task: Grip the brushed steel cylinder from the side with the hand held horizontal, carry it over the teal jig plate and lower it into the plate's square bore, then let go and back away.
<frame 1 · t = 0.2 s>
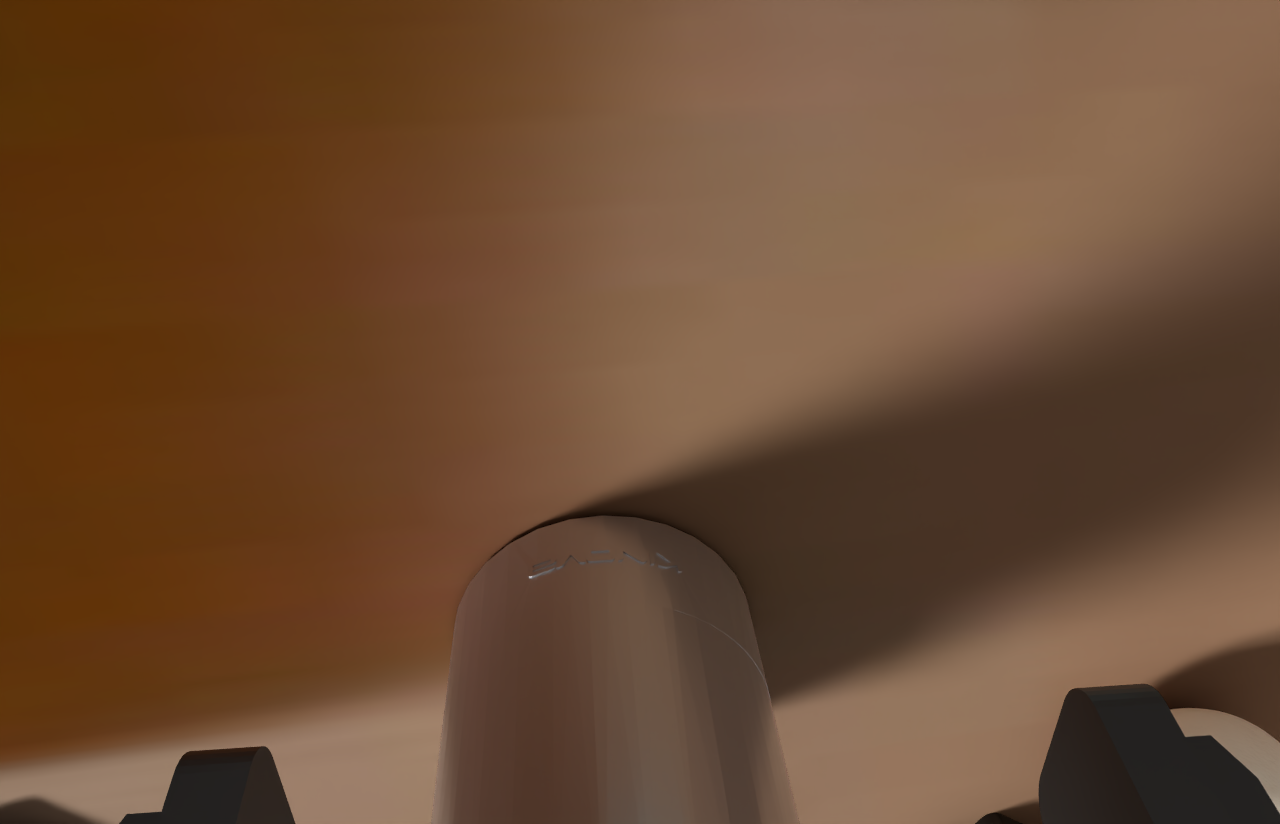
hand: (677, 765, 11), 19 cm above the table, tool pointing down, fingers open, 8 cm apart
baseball: (1143, 736, 39), on the table
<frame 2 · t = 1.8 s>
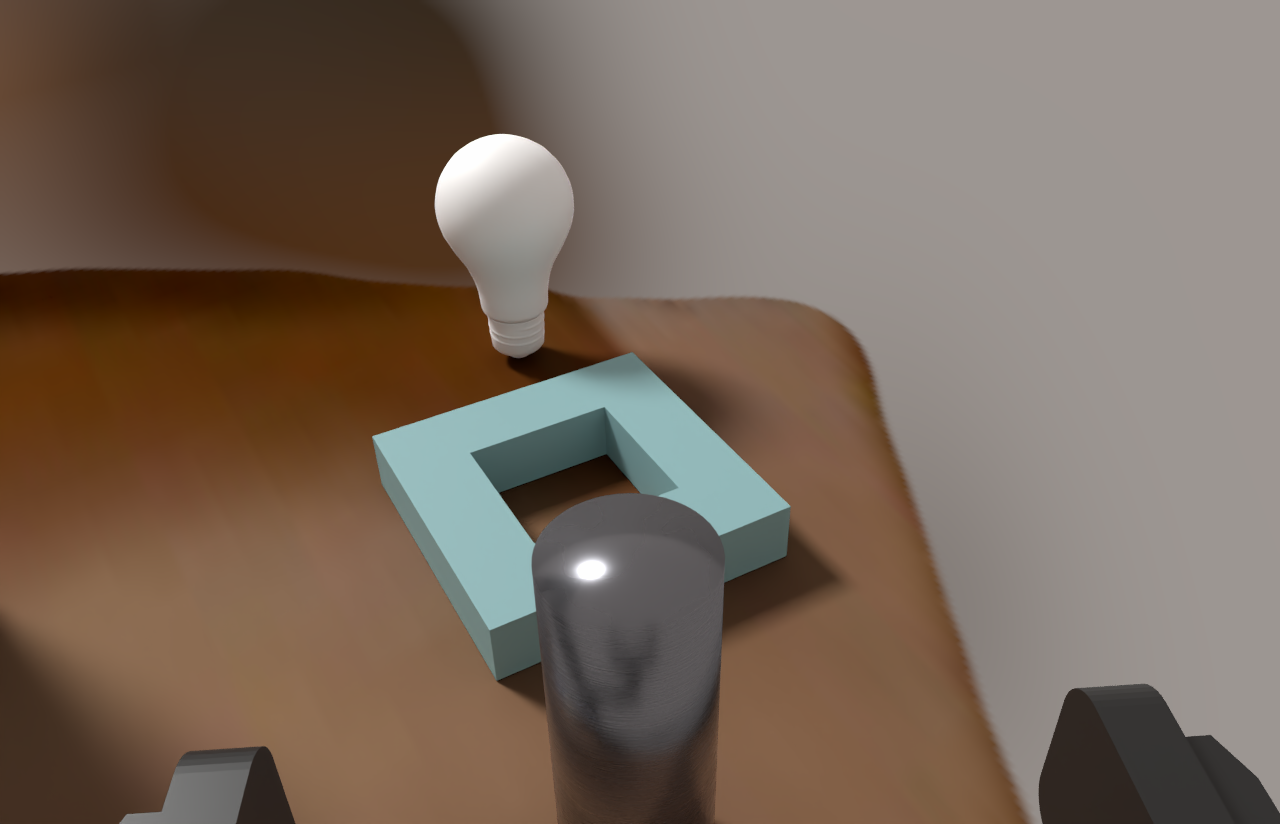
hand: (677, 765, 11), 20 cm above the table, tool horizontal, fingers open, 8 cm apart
jig: (575, 518, 44), on the table
lightbulb: (520, 357, 54), on the table
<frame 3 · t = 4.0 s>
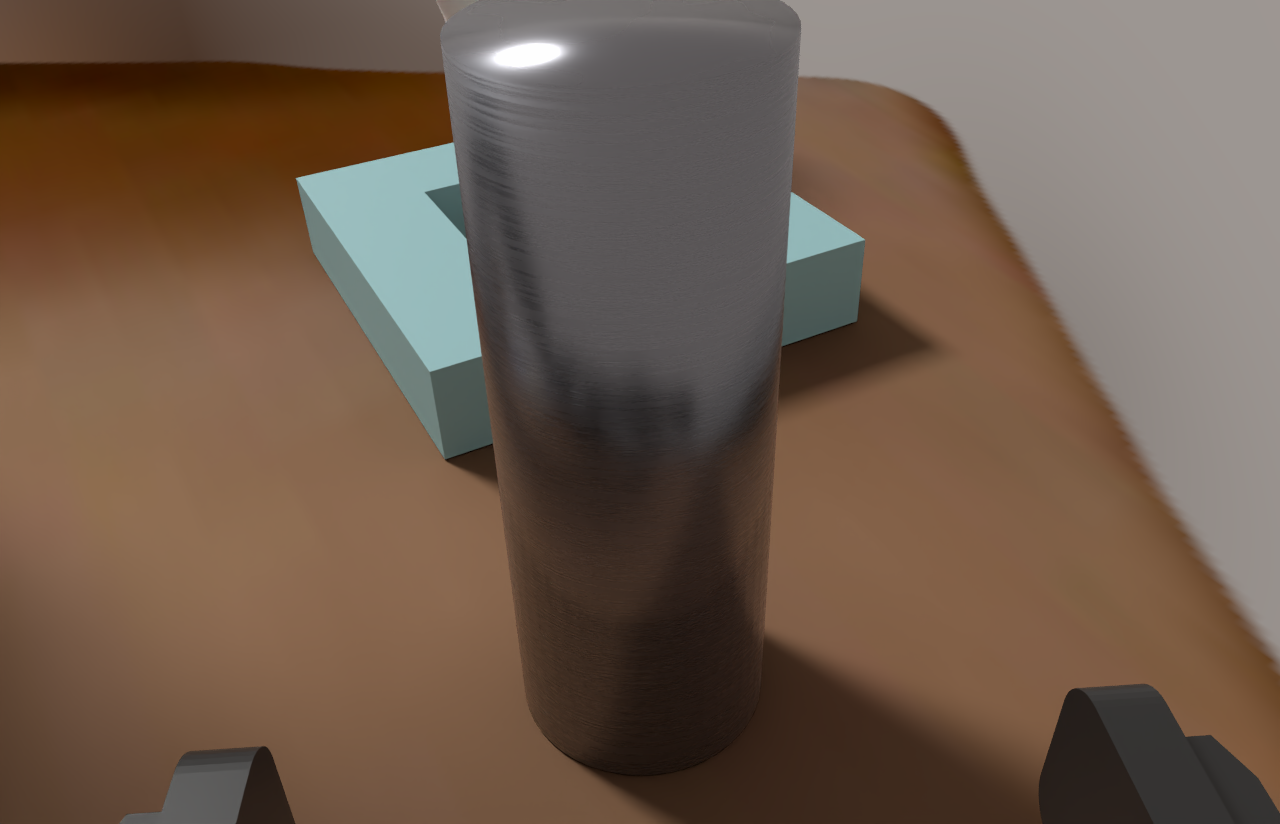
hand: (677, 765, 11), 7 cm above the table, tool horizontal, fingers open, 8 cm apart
brushed steel cylinder: (642, 674, 21), on the table
jig: (567, 284, 33), on the table
lightbulb: (506, 135, 42), on the table
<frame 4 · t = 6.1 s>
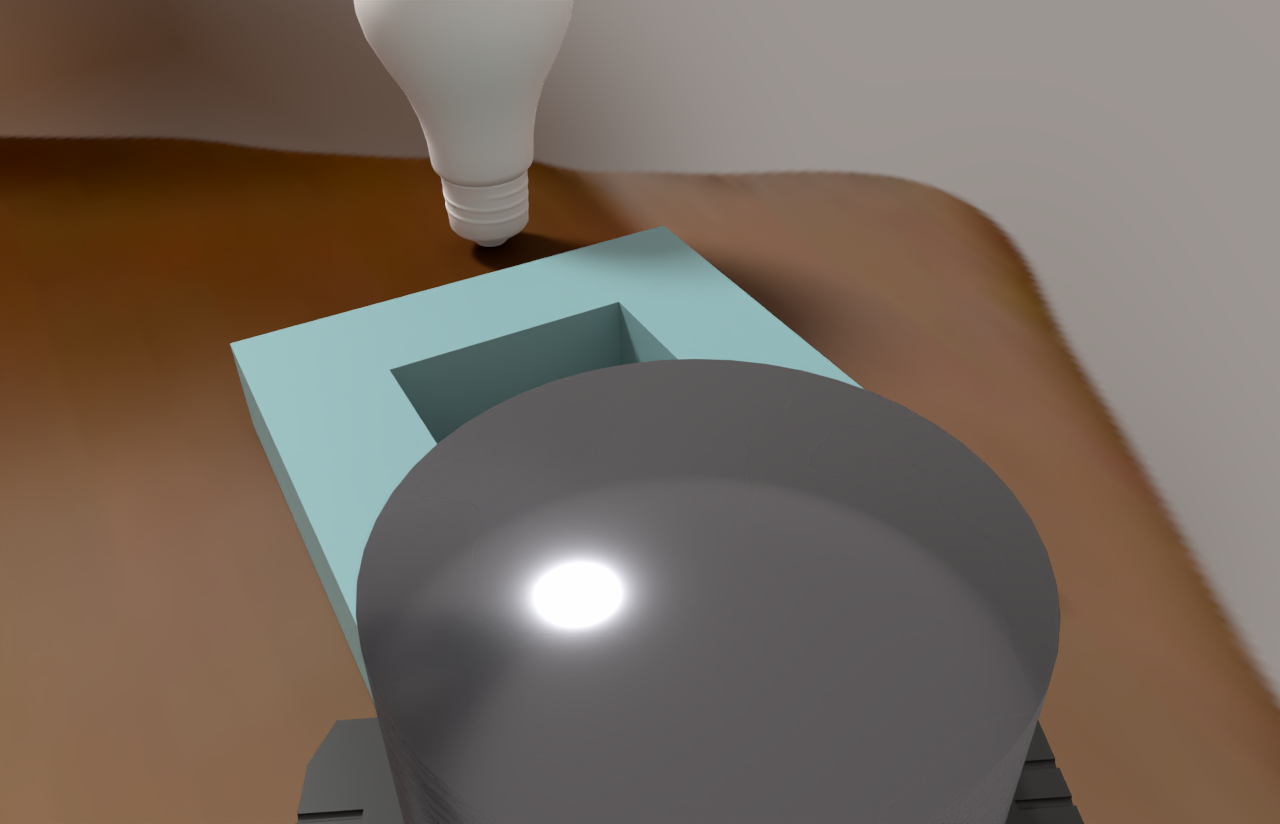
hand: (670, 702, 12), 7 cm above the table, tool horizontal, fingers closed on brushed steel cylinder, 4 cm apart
jig: (568, 483, 26), on the table
lightbulb: (492, 248, 36), on the table
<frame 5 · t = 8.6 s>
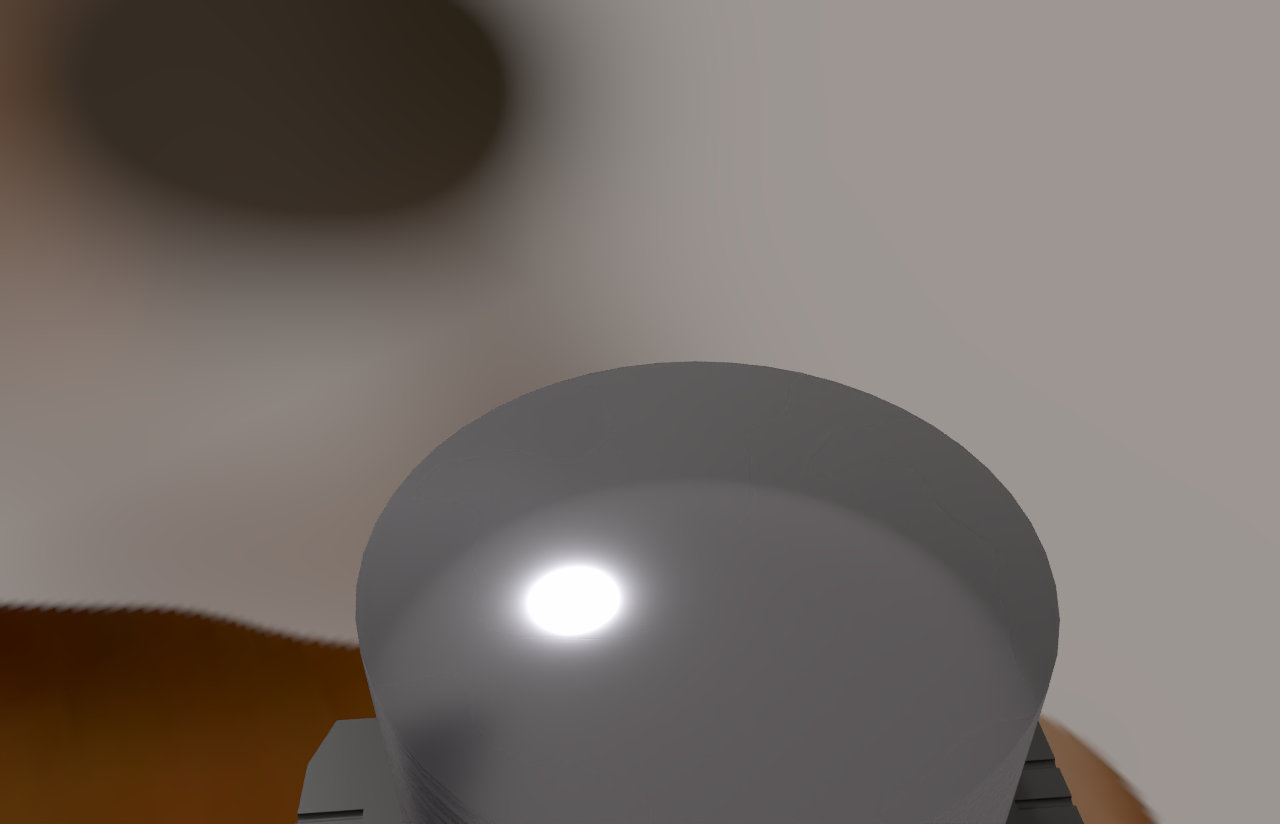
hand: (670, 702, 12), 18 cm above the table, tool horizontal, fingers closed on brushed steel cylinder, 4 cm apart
when the fingers open (8 cm above the table, at t = 10.9 s): brushed steel cylinder stays where it is, resting in jig.
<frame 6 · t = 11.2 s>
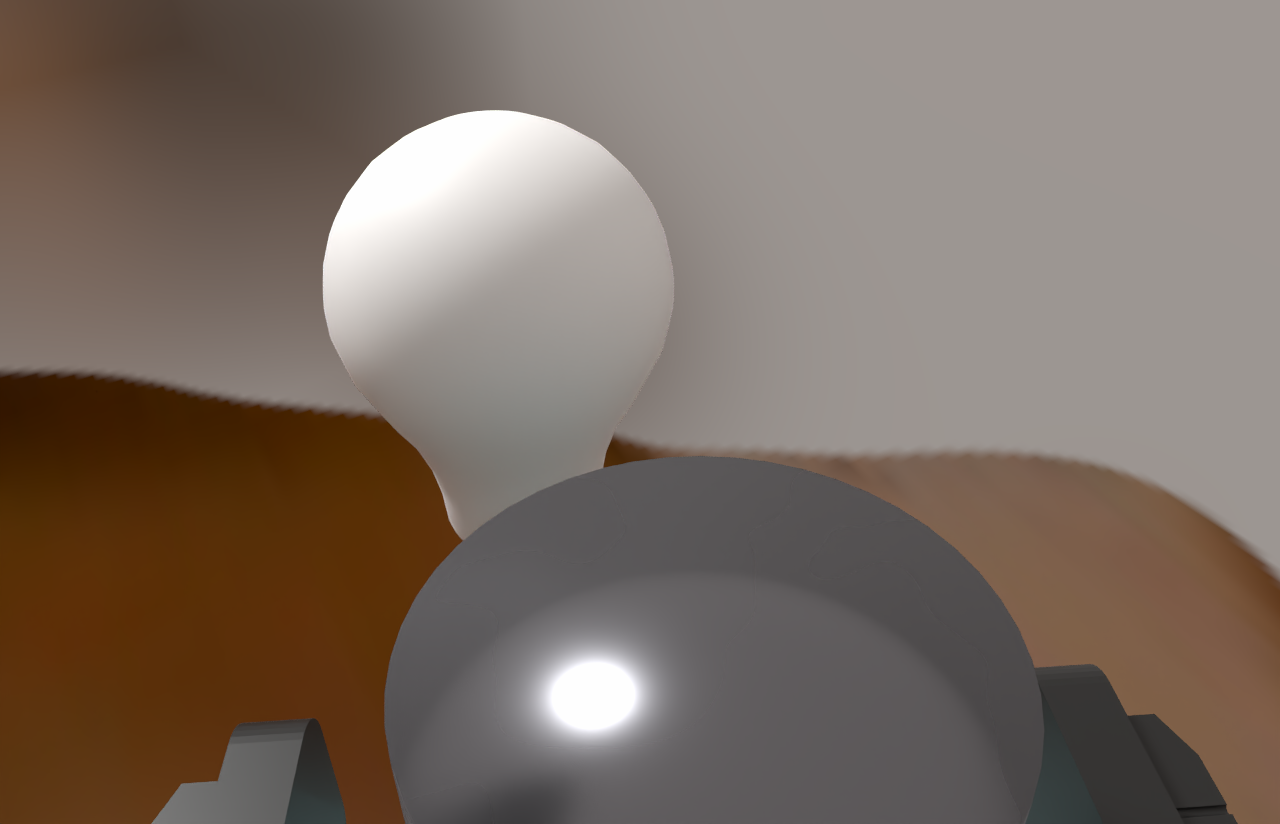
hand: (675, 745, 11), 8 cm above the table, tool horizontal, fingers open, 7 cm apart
lightbulb: (535, 606, 24), on the table
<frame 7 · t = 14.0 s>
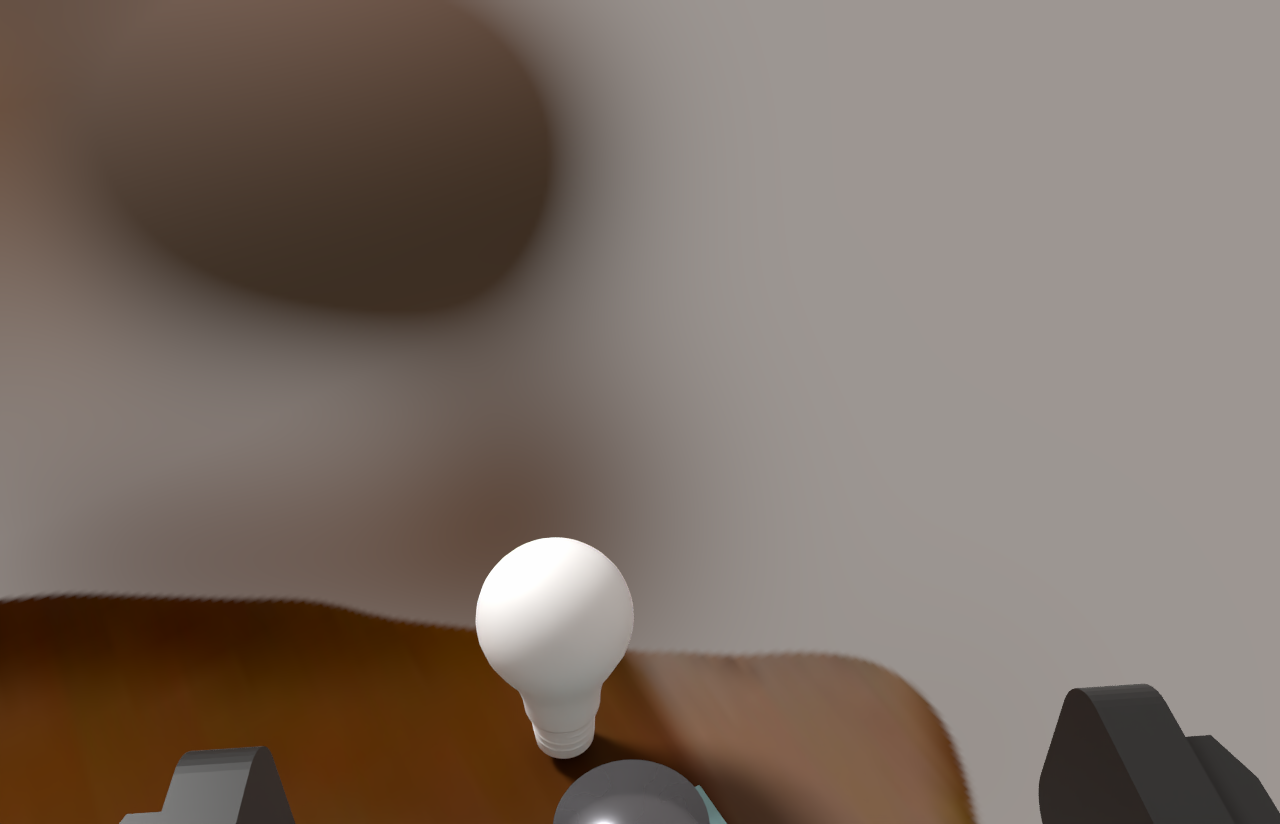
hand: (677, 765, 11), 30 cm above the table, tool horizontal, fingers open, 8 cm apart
lightbulb: (566, 748, 48), on the table
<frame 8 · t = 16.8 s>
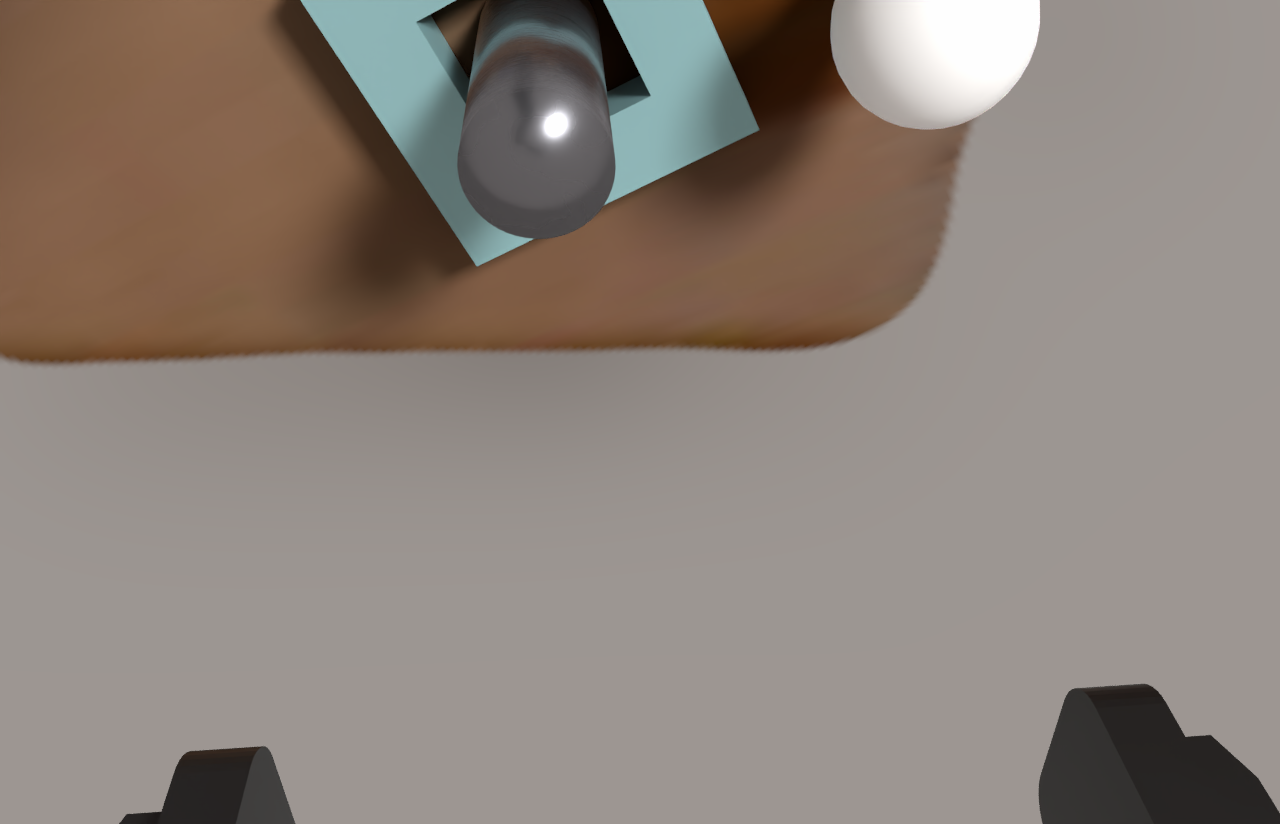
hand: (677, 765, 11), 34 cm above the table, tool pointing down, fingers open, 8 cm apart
brushed steel cylinder: (539, 34, 40), resting in jig
jig: (537, 37, 41), on the table
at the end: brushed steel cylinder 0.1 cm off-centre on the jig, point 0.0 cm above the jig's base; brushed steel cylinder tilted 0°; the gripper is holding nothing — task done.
